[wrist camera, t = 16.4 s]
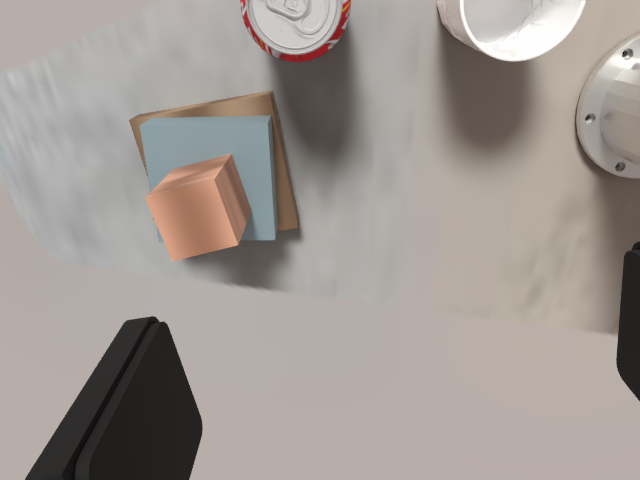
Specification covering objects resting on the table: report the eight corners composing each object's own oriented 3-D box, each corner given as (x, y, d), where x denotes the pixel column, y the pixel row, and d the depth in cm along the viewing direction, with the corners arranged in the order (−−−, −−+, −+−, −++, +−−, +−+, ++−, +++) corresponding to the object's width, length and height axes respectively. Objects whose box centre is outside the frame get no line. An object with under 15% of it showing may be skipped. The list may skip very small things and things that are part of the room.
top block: (271, 115, 42) (267, 122, 39) (278, 226, 46) (275, 240, 44) (151, 117, 42) (139, 125, 40) (168, 228, 46) (159, 242, 44)
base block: (273, 89, 44) (269, 94, 42) (299, 215, 49) (297, 228, 46) (141, 113, 45) (129, 120, 42) (179, 235, 50) (171, 248, 47)
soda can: (325, 65, 43) (326, 84, 32) (245, 30, 42) (218, 38, 31) (360, -22, 40) (373, -34, 29) (276, -62, 39) (257, -90, 28)
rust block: (231, 153, 40) (214, 179, 34) (251, 210, 42) (238, 245, 36) (173, 169, 41) (145, 197, 35) (195, 224, 43) (172, 261, 37)
